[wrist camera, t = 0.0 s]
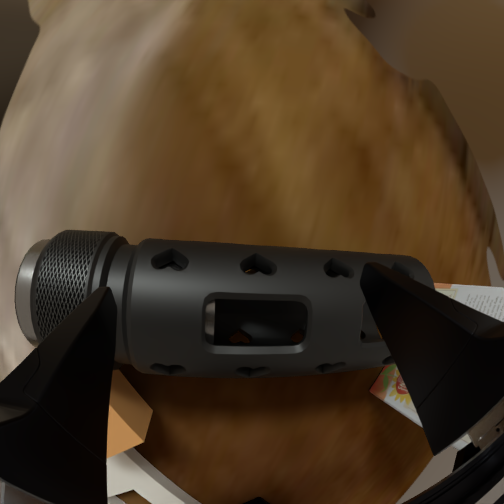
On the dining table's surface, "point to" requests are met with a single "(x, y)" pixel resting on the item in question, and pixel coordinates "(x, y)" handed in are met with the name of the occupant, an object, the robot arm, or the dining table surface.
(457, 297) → the cracker box
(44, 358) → the robot arm
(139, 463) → the socket plate
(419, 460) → the dining table surface
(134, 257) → the muzzle brake
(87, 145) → the dining table surface
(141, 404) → the plug
